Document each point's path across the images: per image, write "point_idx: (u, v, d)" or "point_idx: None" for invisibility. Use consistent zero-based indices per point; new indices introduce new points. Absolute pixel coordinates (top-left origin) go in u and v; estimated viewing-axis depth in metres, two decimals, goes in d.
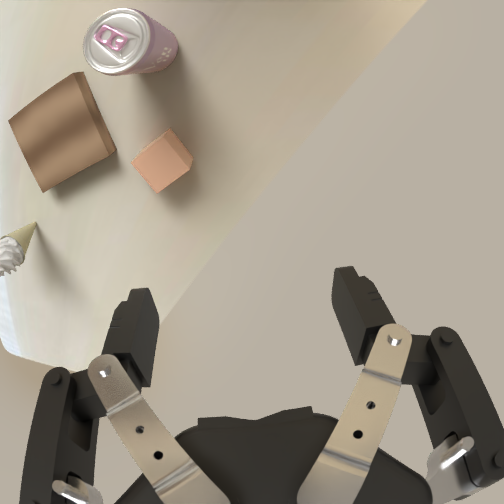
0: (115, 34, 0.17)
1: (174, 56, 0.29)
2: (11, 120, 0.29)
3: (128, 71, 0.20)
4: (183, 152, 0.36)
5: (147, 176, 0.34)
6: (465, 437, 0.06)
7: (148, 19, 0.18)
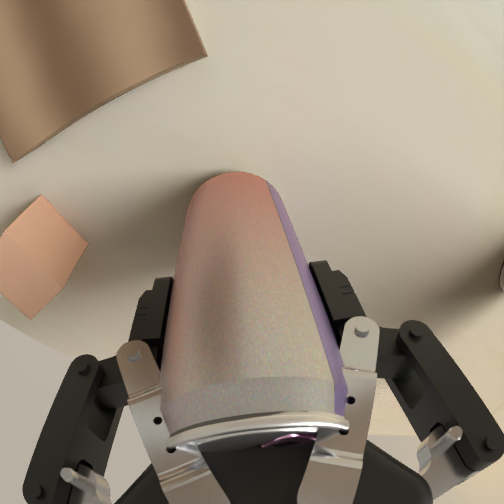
0: None
1: None
2: None
3: None
4: None
5: None
6: (452, 427, 0.06)
7: None
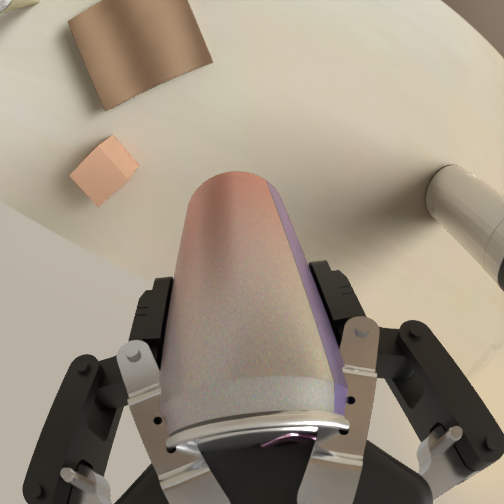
0: None
1: None
2: None
3: None
4: None
5: (85, 165, 0.28)
6: (452, 427, 0.06)
7: None
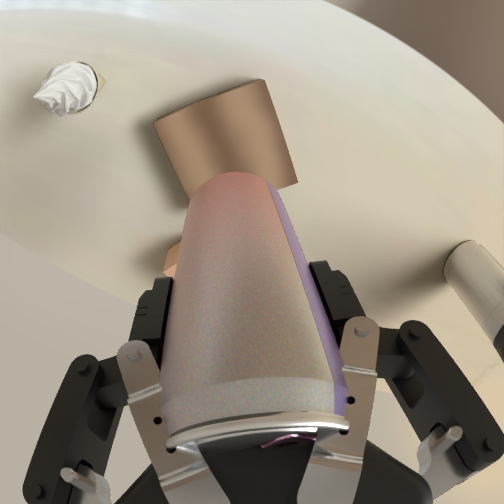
0: None
1: None
2: (263, 85, 0.28)
3: None
4: None
5: None
6: (452, 427, 0.06)
7: None
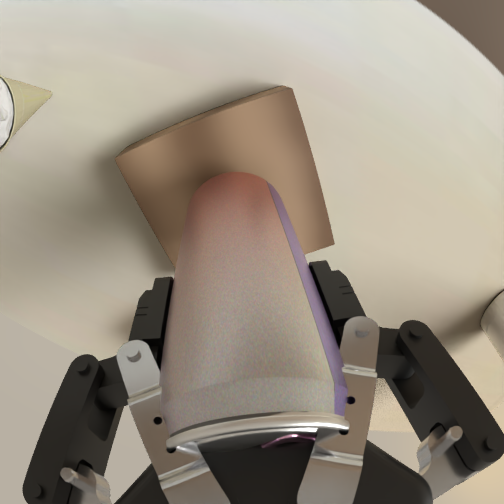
0: None
1: None
2: (289, 97, 0.17)
3: None
4: None
5: None
6: (452, 427, 0.06)
7: None
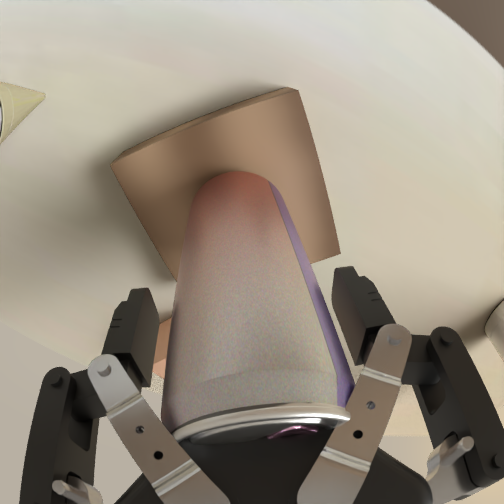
0: None
1: None
2: (296, 100, 0.16)
3: None
4: None
5: None
6: (465, 437, 0.06)
7: None
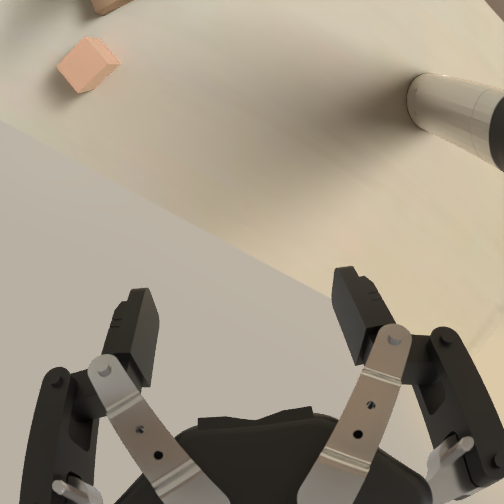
0: None
1: None
2: None
3: None
4: (95, 81, 0.30)
5: (71, 54, 0.25)
6: (465, 437, 0.06)
7: None
